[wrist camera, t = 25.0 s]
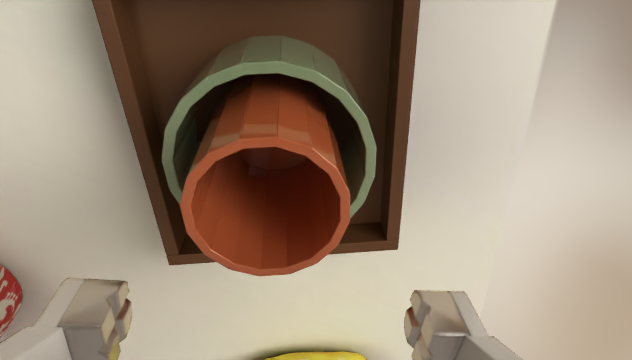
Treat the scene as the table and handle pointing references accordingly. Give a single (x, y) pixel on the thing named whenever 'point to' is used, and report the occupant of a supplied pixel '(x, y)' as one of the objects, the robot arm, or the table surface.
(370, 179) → the sage cup
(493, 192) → the table surface
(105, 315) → the robot arm
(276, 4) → the tray
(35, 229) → the table surface
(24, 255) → the table surface
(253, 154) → the terracotta cup
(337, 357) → the bottle
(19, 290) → the mug
